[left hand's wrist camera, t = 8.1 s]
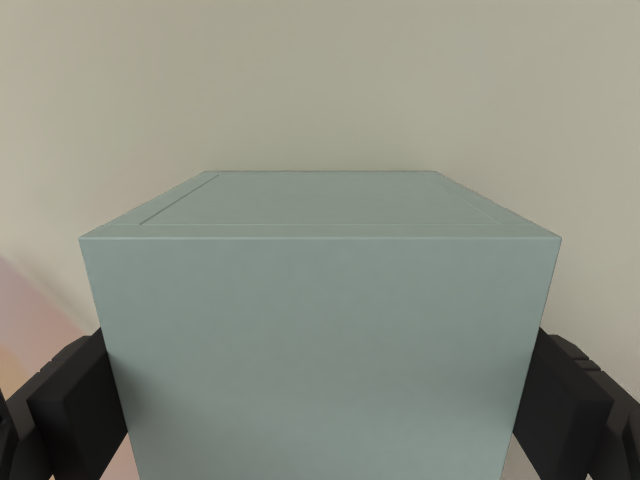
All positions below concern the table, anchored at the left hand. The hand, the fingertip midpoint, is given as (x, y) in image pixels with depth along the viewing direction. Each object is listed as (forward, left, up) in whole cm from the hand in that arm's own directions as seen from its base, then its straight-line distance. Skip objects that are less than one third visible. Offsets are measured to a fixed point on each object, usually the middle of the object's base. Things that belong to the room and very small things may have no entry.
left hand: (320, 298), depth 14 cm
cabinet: (+6, -1, -4) cm, 7 cm away
